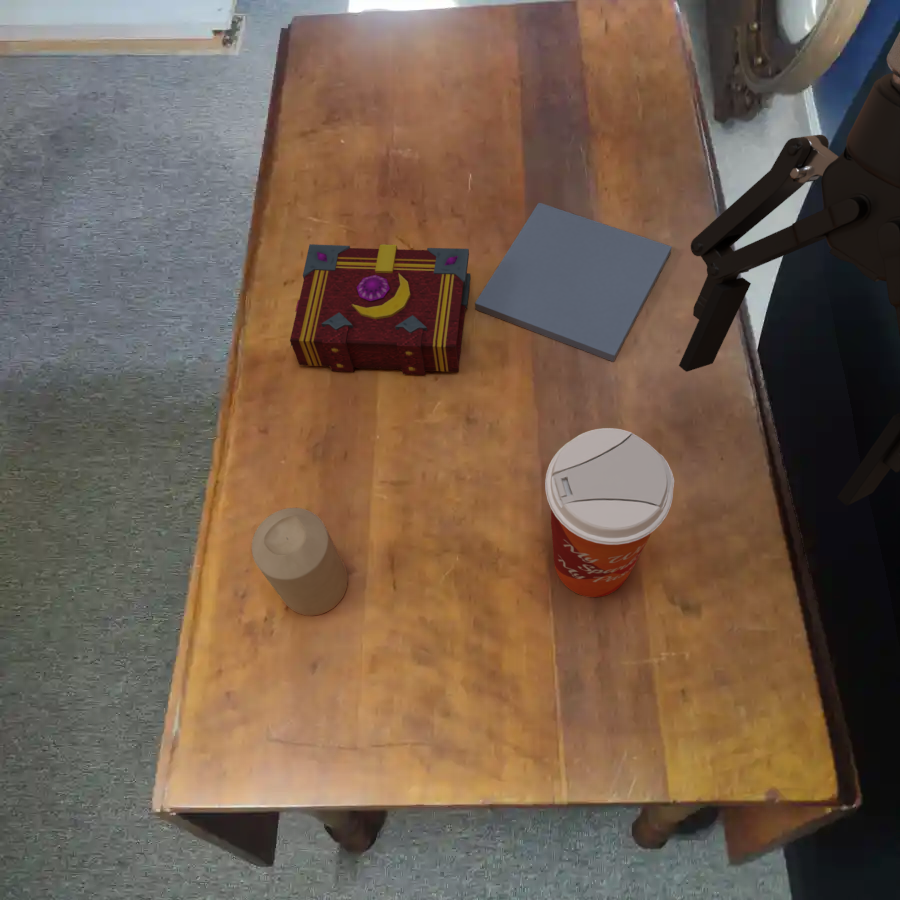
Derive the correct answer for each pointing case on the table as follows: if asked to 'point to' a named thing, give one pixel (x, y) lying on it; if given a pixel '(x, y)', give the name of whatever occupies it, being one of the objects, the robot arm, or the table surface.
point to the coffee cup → (604, 507)
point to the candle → (300, 561)
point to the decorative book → (382, 308)
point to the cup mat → (574, 280)
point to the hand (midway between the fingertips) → (769, 425)
